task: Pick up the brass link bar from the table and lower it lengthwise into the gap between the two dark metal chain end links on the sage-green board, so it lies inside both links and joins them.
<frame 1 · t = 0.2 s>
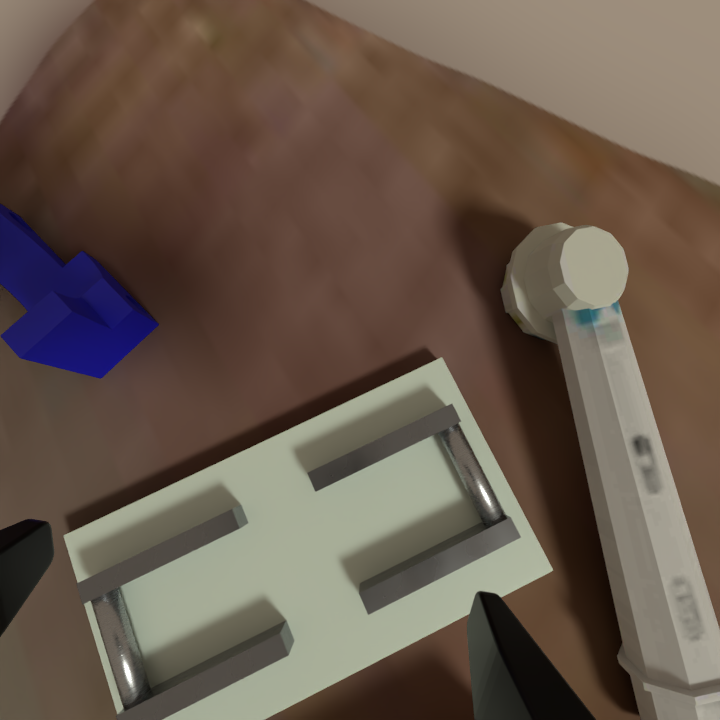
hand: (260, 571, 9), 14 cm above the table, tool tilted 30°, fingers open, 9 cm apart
cable clip: (72, 287, 26), on the table
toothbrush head: (587, 461, 23), on the table
chain end links: (303, 552, 21), resting on base board
base board: (306, 547, 22), on the table
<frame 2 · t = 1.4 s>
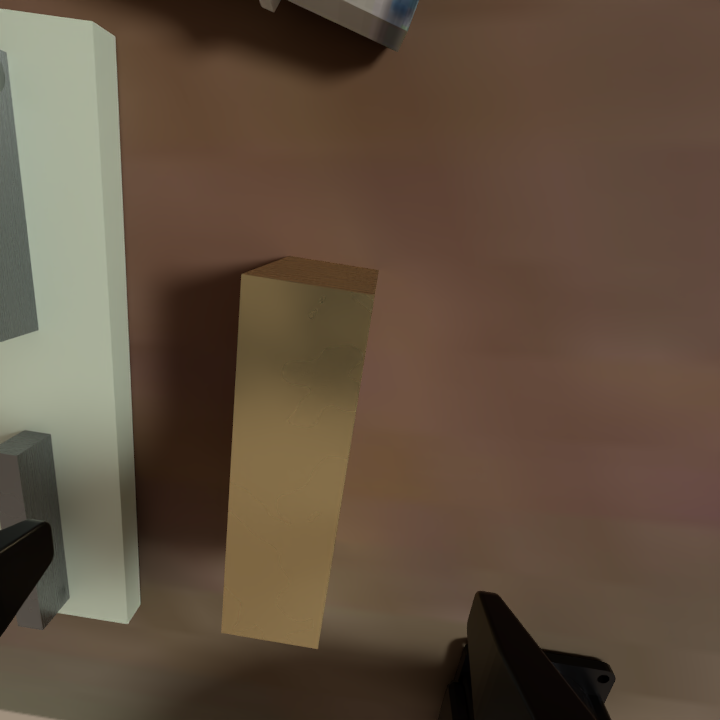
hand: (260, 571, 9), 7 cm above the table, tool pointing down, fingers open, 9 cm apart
link bar: (316, 410, 16), on the table
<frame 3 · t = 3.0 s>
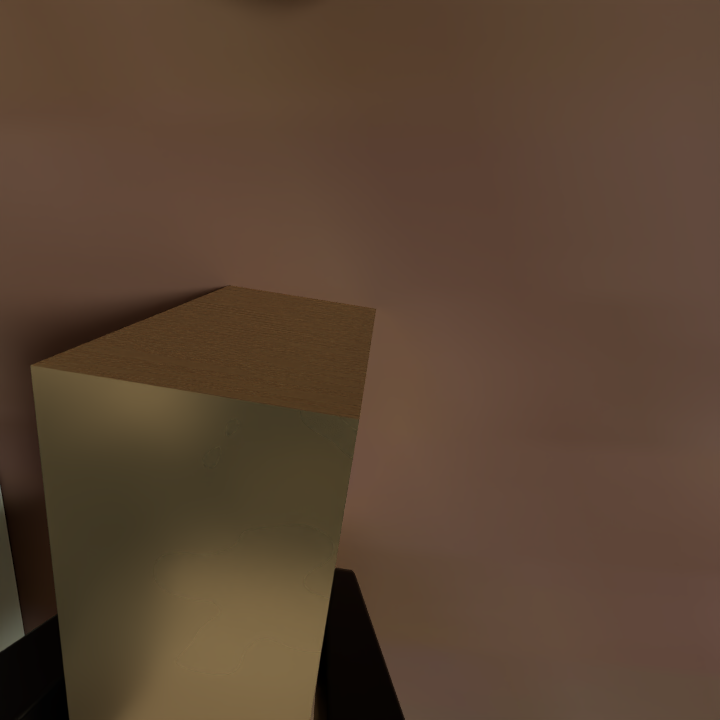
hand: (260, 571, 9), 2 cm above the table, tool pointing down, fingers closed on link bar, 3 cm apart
link bar: (279, 519, 10), on the table, touching gripper
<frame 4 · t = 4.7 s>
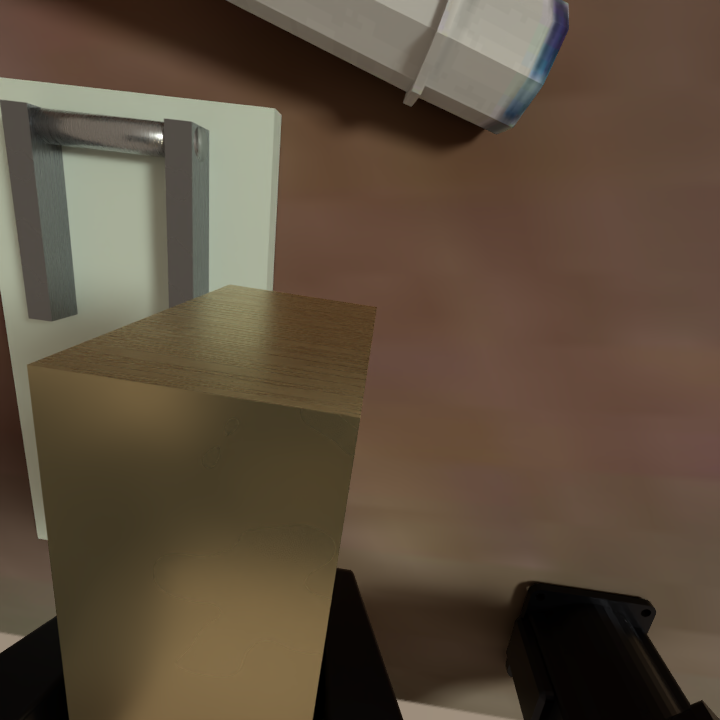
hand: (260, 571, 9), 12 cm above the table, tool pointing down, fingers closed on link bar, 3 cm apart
chain end links: (134, 363, 19), resting on base board
base board: (146, 357, 20), on the table
link bar: (280, 519, 10), point 10 cm above the table, touching gripper
when the fingers open (3 cm above the table, at t = 6.6 s): link bar stays where it is, resting on base board.
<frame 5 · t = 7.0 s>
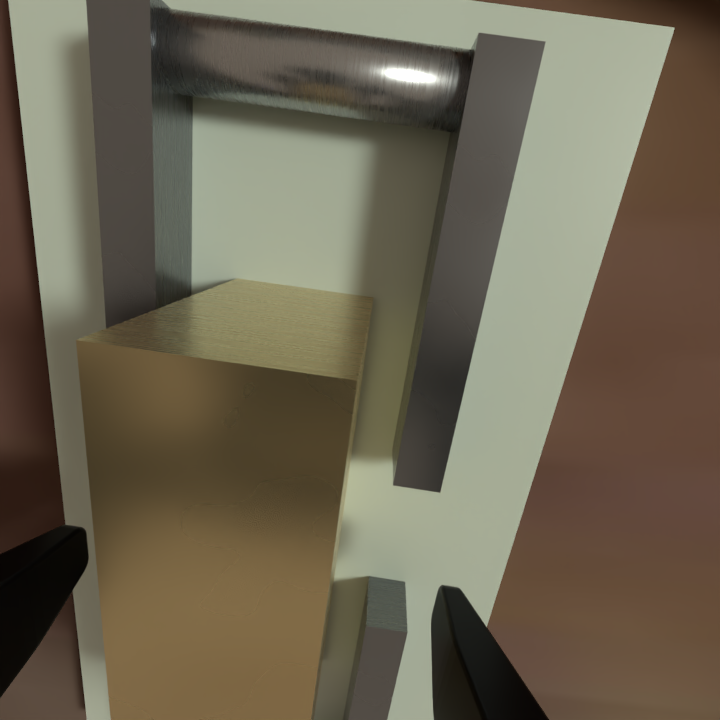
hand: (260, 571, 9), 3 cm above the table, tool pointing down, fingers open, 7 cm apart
chain end links: (284, 501, 11), resting on base board
base board: (292, 478, 12), on the table
link bar: (286, 498, 11), point 1 cm above the table, touching base board
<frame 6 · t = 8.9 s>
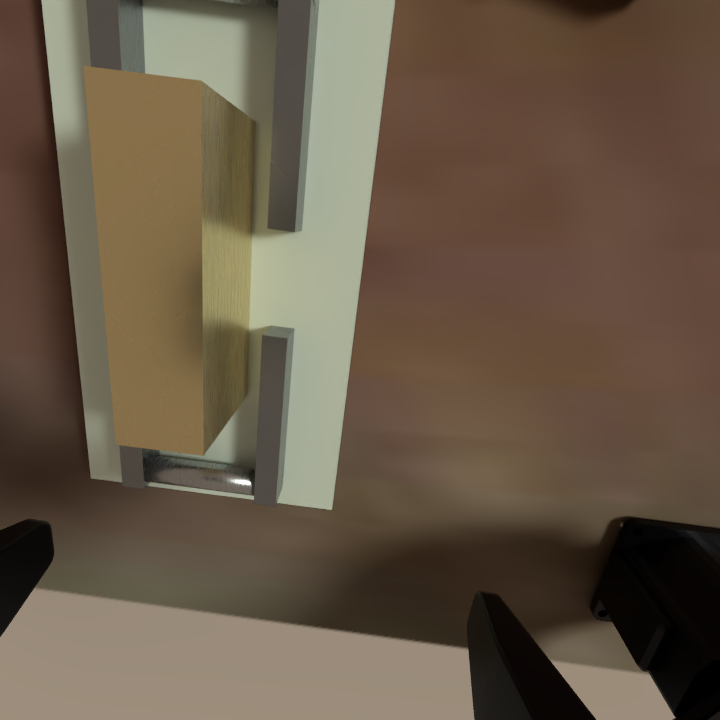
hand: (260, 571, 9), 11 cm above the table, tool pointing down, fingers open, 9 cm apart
chain end links: (213, 270, 17), resting on base board
base board: (221, 267, 18), on the table
link bar: (214, 268, 17), point 1 cm above the table, touching base board
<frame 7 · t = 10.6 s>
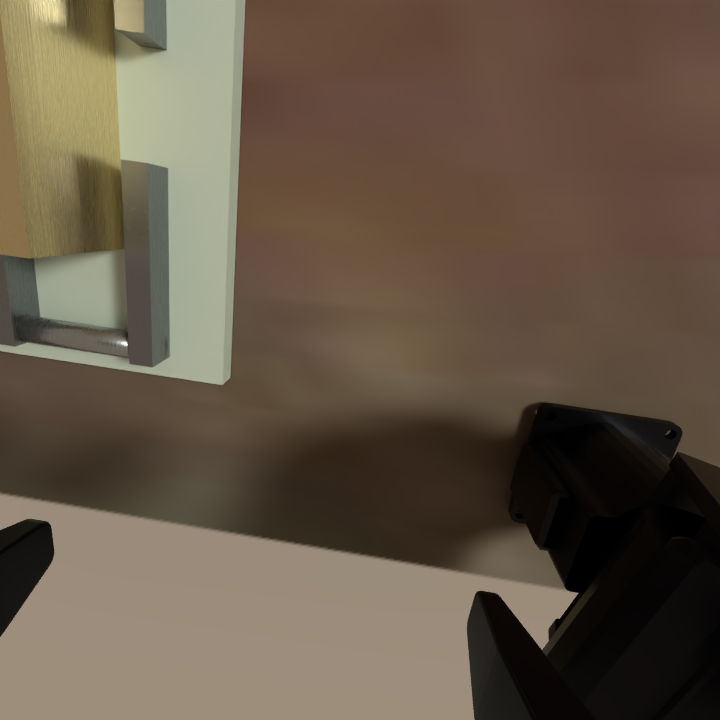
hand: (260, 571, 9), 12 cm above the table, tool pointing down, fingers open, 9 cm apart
chain end links: (78, 99, 16), resting on base board
base board: (95, 105, 17), on the table
link bar: (79, 96, 16), point 1 cm above the table, touching base board
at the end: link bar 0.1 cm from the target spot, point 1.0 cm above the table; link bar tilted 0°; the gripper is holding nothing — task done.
